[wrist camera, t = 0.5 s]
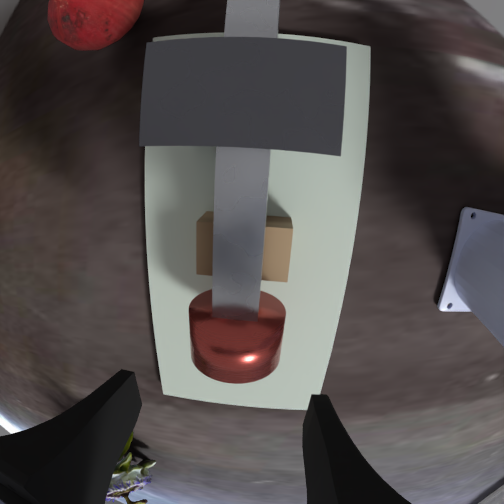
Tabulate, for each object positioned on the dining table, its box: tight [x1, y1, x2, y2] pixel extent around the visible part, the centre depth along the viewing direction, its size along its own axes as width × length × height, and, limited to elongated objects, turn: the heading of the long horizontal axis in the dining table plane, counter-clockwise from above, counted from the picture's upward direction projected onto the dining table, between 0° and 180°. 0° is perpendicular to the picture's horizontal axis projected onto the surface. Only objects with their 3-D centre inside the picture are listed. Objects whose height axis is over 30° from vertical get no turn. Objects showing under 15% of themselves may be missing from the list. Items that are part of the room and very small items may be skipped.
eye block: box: [139, 37, 347, 156], centre depth 13 cm, size 7×4×7 cm, turn 87°
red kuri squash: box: [48, 0, 144, 51], centre depth 11 cm, size 6×6×8 cm
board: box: [145, 33, 370, 410], centre depth 20 cm, size 13×27×1 cm, turn 177°
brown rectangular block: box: [196, 211, 293, 282], centre depth 18 cm, size 5×3×2 cm, turn 87°
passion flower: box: [106, 431, 156, 504], centre depth 26 cm, size 11×11×12 cm
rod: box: [189, 0, 286, 384], centre depth 14 cm, size 5×21×5 cm, turn 177°
